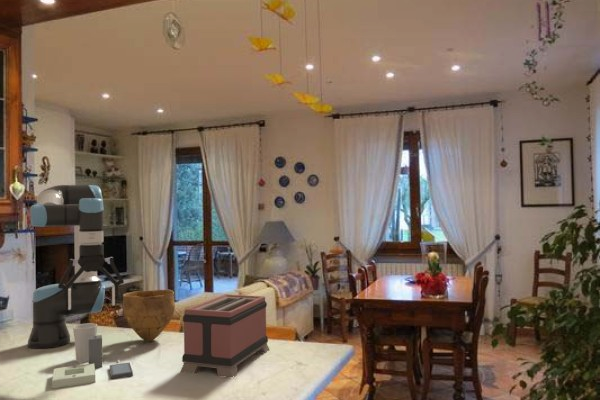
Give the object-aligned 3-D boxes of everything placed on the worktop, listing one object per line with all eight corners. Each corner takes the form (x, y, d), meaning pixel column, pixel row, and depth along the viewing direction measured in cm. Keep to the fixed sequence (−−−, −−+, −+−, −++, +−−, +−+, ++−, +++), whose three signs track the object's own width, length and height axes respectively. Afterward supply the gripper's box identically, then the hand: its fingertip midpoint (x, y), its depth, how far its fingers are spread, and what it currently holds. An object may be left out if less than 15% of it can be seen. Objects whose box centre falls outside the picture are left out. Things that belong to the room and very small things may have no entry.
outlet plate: (54, 376, 158) (54, 368, 158) (94, 370, 163) (94, 362, 163) (52, 388, 147) (52, 380, 147) (95, 382, 152) (95, 373, 152)
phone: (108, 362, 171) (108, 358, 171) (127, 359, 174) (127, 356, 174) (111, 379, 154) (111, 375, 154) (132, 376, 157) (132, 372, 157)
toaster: (272, 348, 186) (272, 294, 187) (232, 378, 154) (231, 313, 154) (228, 343, 193) (227, 292, 193) (179, 372, 160) (179, 309, 161)
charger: (88, 365, 168) (88, 336, 168) (101, 363, 170) (101, 334, 170) (88, 369, 164) (88, 339, 164) (102, 367, 166) (102, 337, 166)
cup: (88, 363, 170) (88, 329, 170) (68, 362, 172) (68, 328, 172) (102, 356, 178) (101, 323, 178) (82, 355, 179) (82, 322, 180)
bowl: (112, 343, 195) (111, 293, 195) (153, 332, 212) (152, 286, 212) (145, 351, 183) (144, 298, 183) (185, 339, 200) (185, 290, 200)
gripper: (49, 246, 155) (49, 312, 155) (131, 243, 165) (131, 305, 165) (50, 244, 162) (51, 308, 162) (129, 241, 172) (130, 301, 172)
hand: (91, 307), depth 163 cm, fingers open, 13 cm apart
